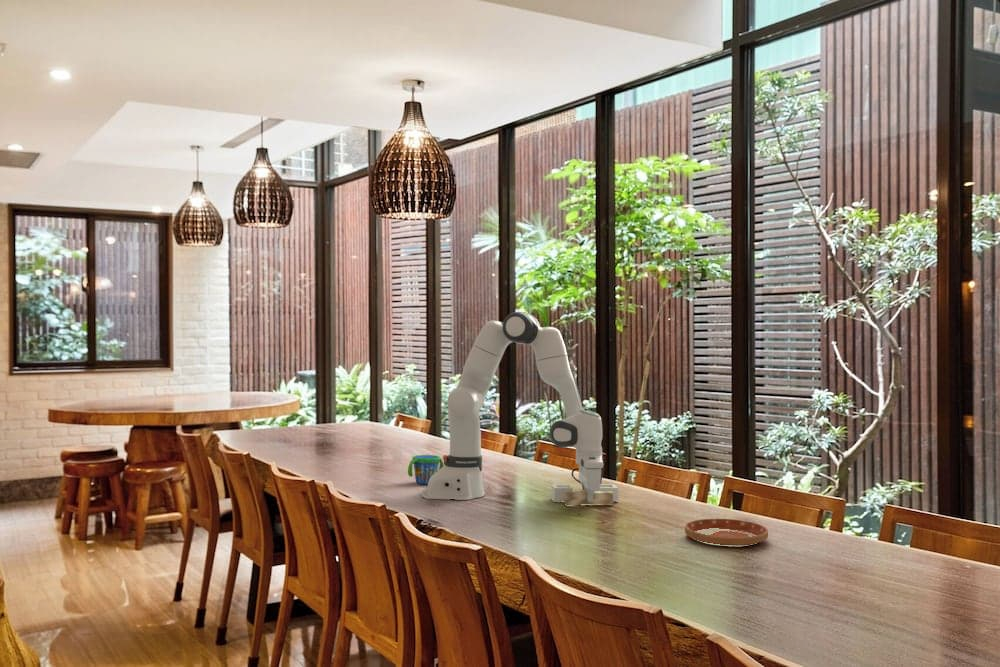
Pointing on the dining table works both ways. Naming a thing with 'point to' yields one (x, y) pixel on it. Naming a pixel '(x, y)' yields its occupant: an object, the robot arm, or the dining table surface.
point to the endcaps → (560, 488)
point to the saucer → (726, 536)
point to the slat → (581, 497)
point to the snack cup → (424, 467)
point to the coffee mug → (579, 481)
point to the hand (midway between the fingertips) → (588, 500)
